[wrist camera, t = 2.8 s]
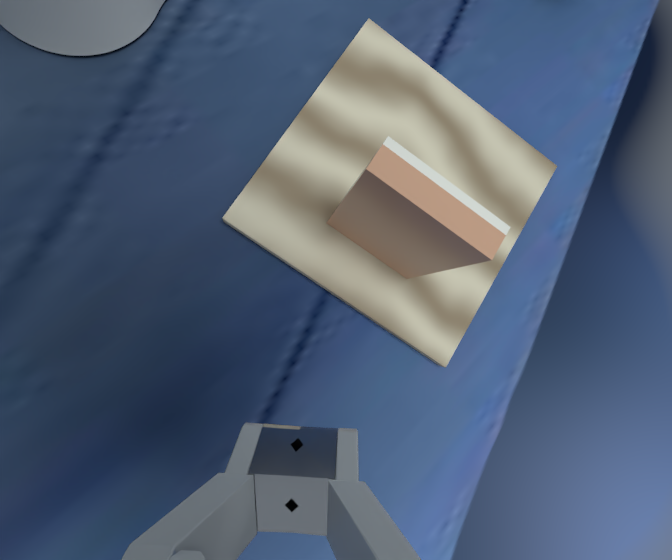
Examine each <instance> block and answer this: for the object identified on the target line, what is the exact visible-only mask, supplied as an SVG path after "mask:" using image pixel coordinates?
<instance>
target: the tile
mask: <svg viewBox="0 0 672 560" xmlns="http://www.w3.org/2000/svg"><path fill="white" fill-rule="evenodd" d="M327 224H328V225H330V226H331V227H333V228H334V229H336V230H337V231H338V232H340V233H341V234H343V235H344V236H346V237H347V238H349V239H350V240H351V241H353V242H354V243H356V244H357V245H359V246H360V247H362V248H363V249H364V250H366V251H367V252H369V253H370V254H372V255H373V256H375V257H376V258H377V259H379V260H380V261H382V262H383V263H385V264H386V265H387V266H389V267H390V268H392V269H393V270H395V271H396V272H398V273H399V274H400V275H402V276H403V277H405V278H406V279H409V278H413V277H418V276H423V275H427V274H432V273H436V272H441V271H445V270H450V269H454V268H459V267H464V266H468V265H473V264H477V263H482V262H486V261H491V260H492V259H493V258H494V256H495V254H496V252H497V251H498V249H499V247H500V245H501V243H502V242H503V240H504V238H505V236H506V235H507V233H508V231H509V229H510V226H508V225H507V224H506V223H504V222H503V221H502V220H500V219H499V218H498V217H496V216H495V215H494V214H492V213H491V212H490V211H488V210H487V209H486V208H484V207H483V206H482V205H480V204H479V203H478V202H476V201H475V200H474V199H472V198H471V197H470V196H468V195H467V194H466V193H464V192H463V191H461V190H460V189H459V188H457V187H456V186H455V185H453V184H452V183H451V182H449V181H448V180H447V179H445V178H444V177H443V176H441V175H440V174H439V173H437V172H436V171H435V170H433V169H432V168H431V167H429V166H428V165H427V164H425V163H424V162H423V161H421V160H420V159H418V158H417V157H416V156H414V155H413V154H412V153H410V152H409V151H408V150H406V149H405V148H404V147H402V146H401V145H400V144H398V143H397V142H396V141H394V140H393V139H392V138H390V137H389V136H388V137H387V138H386V139H385V141H384V142H383V144H382V145H381V146H380V148H379V149H378V151H377V152H376V153H375V155H374V156H373V157H372V159H371V160H370V162H369V163H368V164H367V166H366V167H365V169H364V170H363V171H362V173H361V174H360V175H359V177H358V178H357V180H356V181H355V182H354V184H353V185H352V186H351V188H350V189H349V191H348V192H347V193H346V195H345V196H344V198H343V199H342V200H341V202H340V203H339V205H338V206H337V208H336V209H335V211H334V212H333V214H332V215H331V217H330V218H329V220H328V221H327Z"/></svg>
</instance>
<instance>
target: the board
mask: <svg viewBox="0 0 672 560" xmlns="http://www.w3.org/2000/svg"><path fill="white" fill-rule="evenodd" d="M388 136H389V137H390V138H392V139H393V140H394V141H396V142H397V143H398V144H400V145H401V146H402V147H404V148H405V149H406V150H408V151H409V152H410V153H412V154H413V155H414V156H416V157H417V158H418V159H420V160H421V161H423V162H424V163H425V164H427V165H428V166H429V167H431V168H432V169H433V170H435V171H436V172H437V173H439V174H440V175H441V176H443V177H444V178H445V179H447V180H448V181H449V182H451V183H452V184H453V185H455V186H456V187H457V188H459V189H460V190H461V191H463V192H464V193H466V194H467V195H468V196H470V197H471V198H472V199H474V200H475V201H476V202H478V203H479V204H480V205H482V206H483V207H484V208H486V209H487V210H488V211H490V212H491V213H492V214H494V215H495V216H496V217H498V218H499V219H500V220H502V221H503V222H504V223H506V224H507V225H508V226H510V229H509V231H508V233H507V235H506V236H505V238H504V240H503V242H502V243H501V245H500V247H499V249H498V251H497V252H496V254H495V256H494V258H493V259H492V260H491V261H486V262H482V263H477V264H473V265H468V266H464V267H459V268H454V269H450V270H445V271H441V272H436V273H432V274H427V275H423V276H418V277H413V278H409V279H406V278H405V277H403V276H402V275H400V274H399V273H398V272H396V271H395V270H393V269H392V268H390V267H389V266H387V265H386V264H385V263H383V262H382V261H380V260H379V259H377V258H376V257H375V256H373V255H372V254H370V253H369V252H367V251H366V250H364V249H363V248H362V247H360V246H359V245H357V244H356V243H354V242H353V241H351V240H350V239H349V238H347V237H346V236H344V235H343V234H341V233H340V232H338V231H337V230H336V229H334V228H333V227H331V226H330V225H328V224H327V221H328V220H329V218H330V217H331V215H332V214H333V212H334V211H335V209H336V208H337V206H338V205H339V203H340V202H341V200H342V199H343V198H344V196H345V195H346V193H347V192H348V191H349V189H350V188H351V186H352V185H353V184H354V182H355V181H356V180H357V178H358V177H359V175H360V174H361V173H362V171H363V170H364V169H365V167H366V166H367V164H368V163H369V162H370V160H371V159H372V157H373V156H374V155H375V153H376V152H377V151H378V149H379V148H380V146H381V145H382V144H383V142H384V141H385V139H386V138H387V137H388ZM556 167H557V166H556V165H555V164H554V163H552V162H551V161H550V160H549V159H547V158H546V157H545V156H544V155H542V154H541V153H540V152H538V151H537V150H536V149H535V148H533V147H532V146H531V145H530V144H528V143H527V142H526V141H524V140H523V139H522V138H521V137H519V136H518V135H517V134H516V133H514V132H513V131H512V130H510V129H509V128H508V127H507V126H505V125H504V124H503V123H502V122H500V121H499V120H498V119H496V118H495V117H494V116H493V115H491V114H490V113H489V112H487V111H486V110H485V109H484V108H482V107H481V106H480V105H479V104H477V103H476V102H475V101H473V100H472V99H471V98H470V97H468V96H467V95H466V94H465V93H463V92H462V91H461V90H459V89H458V88H457V87H456V86H454V85H453V84H452V83H451V82H449V81H448V80H447V79H445V78H444V77H443V76H442V75H440V74H439V73H438V72H437V71H435V70H434V69H433V68H431V67H430V66H429V65H428V64H426V63H425V62H424V61H423V60H421V59H420V58H419V57H417V56H416V55H415V54H414V53H412V52H411V51H410V50H408V49H407V48H406V47H405V46H403V45H402V44H401V43H400V42H398V41H397V40H396V39H394V38H393V37H392V36H391V35H389V34H388V33H387V32H386V31H384V30H383V29H382V28H380V27H379V26H378V25H377V24H375V23H374V22H373V21H372V20H370V19H368V20H367V21H366V23H365V24H364V26H363V27H362V28H361V30H360V31H359V32H358V34H357V35H356V36H355V38H354V39H353V41H352V42H351V43H350V45H349V46H348V47H347V49H346V50H345V51H344V53H343V54H342V56H341V57H340V58H339V60H338V61H337V62H336V64H335V65H334V66H333V68H332V69H331V71H330V72H329V73H328V75H327V76H326V77H325V79H324V80H323V81H322V83H321V84H320V86H319V87H318V88H317V90H316V91H315V92H314V94H313V95H312V96H311V98H310V99H309V101H308V102H307V103H306V105H305V106H304V107H303V109H302V110H301V111H300V113H299V114H298V116H297V117H296V118H295V120H294V121H293V122H292V124H291V125H290V126H289V128H288V129H287V131H286V132H285V133H284V135H283V136H282V137H281V139H280V140H279V141H278V143H277V144H276V146H275V147H274V148H273V150H272V151H271V152H270V154H269V155H268V156H267V158H266V159H265V161H264V162H263V163H262V165H261V166H260V167H259V169H258V170H257V171H256V173H255V174H254V176H253V177H252V178H251V180H250V181H249V182H248V184H247V185H246V186H245V188H244V189H243V191H242V192H241V193H240V195H239V196H238V197H237V199H236V200H235V201H234V203H233V204H232V206H231V207H230V208H229V210H228V211H227V212H226V214H225V215H224V216H223V218H222V219H223V221H224V222H225V223H226V224H228V225H229V226H231V227H232V228H234V229H235V230H237V231H238V232H240V233H241V234H243V235H244V236H246V237H247V238H249V239H250V240H252V241H253V242H255V243H256V244H258V245H259V246H261V247H262V248H264V249H265V250H267V251H268V252H270V253H271V254H273V255H274V256H276V257H277V258H279V259H280V260H282V261H283V262H285V263H286V264H288V265H289V266H291V267H292V268H294V269H295V270H297V271H298V272H300V273H301V274H303V275H304V276H306V277H307V278H309V279H310V280H312V281H313V282H315V283H316V284H318V285H319V286H321V287H322V288H324V289H325V290H327V291H328V292H330V293H331V294H333V295H334V296H336V297H337V298H339V299H340V300H342V301H343V302H345V303H346V304H348V305H349V306H351V307H352V308H354V309H355V310H357V311H358V312H360V313H361V314H363V315H364V316H366V317H367V318H369V319H370V320H372V321H373V322H375V323H376V324H378V325H379V326H381V327H382V328H384V329H385V330H387V331H388V332H390V333H391V334H393V335H394V336H396V337H397V338H399V339H400V340H402V341H403V342H405V343H406V344H408V345H409V346H411V347H412V348H414V349H415V350H417V351H418V352H420V353H421V354H423V355H424V356H426V357H427V358H429V359H430V360H432V361H433V362H435V363H436V364H438V365H439V366H442V367H445V368H446V366H447V364H448V362H449V361H450V359H451V357H452V355H453V353H454V352H455V350H456V348H457V346H458V344H459V343H460V341H461V339H462V337H463V335H464V334H465V332H466V330H467V328H468V326H469V325H470V323H471V321H472V319H473V317H474V315H475V314H476V312H477V310H478V308H479V306H480V305H481V303H482V301H483V299H484V297H485V296H486V294H487V292H488V290H489V288H490V287H491V285H492V283H493V281H494V279H495V278H496V276H497V274H498V272H499V270H500V269H501V267H502V265H503V263H504V261H505V260H506V258H507V256H508V254H509V252H510V251H511V249H512V247H513V245H514V243H515V241H516V240H517V238H518V236H519V234H520V232H521V231H522V229H523V227H524V225H525V223H526V222H527V220H528V218H529V216H530V214H531V213H532V211H533V209H534V207H535V205H536V204H537V202H538V200H539V198H540V196H541V195H542V193H543V191H544V189H545V187H546V186H547V184H548V182H549V180H550V178H551V176H552V175H553V173H554V171H555V169H556Z"/></svg>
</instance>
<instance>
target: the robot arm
mask: <svg viewBox="0 0 672 560" xmlns="http://www.w3.org/2000/svg"><path fill="white" fill-rule="evenodd" d="M164 1H165V0H0V25H2V26H3V27H4V28H5V29H6V30H7V31H9V32H10V33H11V34H13V35H14V36H16V37H17V38H19V39H21V40H22V41H24V42H26V43H28V44H30V45H32V46H35V47H37V48H40V49H43V50H46V51H49V52H53V53H58V54H63V55H72V56H88V55H97V54H102V53H107V52H110V51H113V50H116V49H119V48H121V47H123V46H125V45H127V44H129V43H131V42H132V41H134V40H135V39H136V38H138V37H139V36H140V35H141V34H142V33H143V32H145V30H146V29H147V28H148V27H149V26H150V25H151V23H152V22H153V20H154V19H155V17H156V15H157V13H158V11H159V10H160V8H161V6H162V4H163V3H164ZM337 434H338V437H337ZM257 531H263V532H292V533H302V534H312V535H323V536H327V540H328V542H329V544H330V546H331V548H332V551H333V553H334V555H335V557H336V559H337V560H421V559H420V557H419V556H418V554H417V553H416V552H415V550H414V549H413V548H412V546H411V545H410V544H409V542H408V541H407V539H406V538H405V537H404V535H403V534H402V533H401V531H400V530H399V528H398V527H397V526H396V524H395V523H394V522H393V520H392V519H391V517H390V516H389V515H388V513H387V512H386V511H385V509H384V508H383V506H382V505H381V504H380V502H379V501H378V500H377V498H376V497H375V495H374V494H373V493H372V491H371V490H370V489H369V487H368V486H367V485H366V483H365V482H361V481H359V475H358V431H357V429H348V428H321V427H299V426H287V425H275V424H257V423H245V424H244V425H243V426H242V429H241V431H240V434H239V436H238V439H237V441H236V444H235V447H234V449H233V452H232V454H231V457H230V460H229V462H228V465H227V467H226V470H225V472H224V473H218V474H216V475H215V476H214V477H213V478H211V479H210V480H209V481H208V482H206V483H205V484H204V485H203V486H201V487H200V488H199V489H198V490H196V491H195V492H194V493H193V494H191V495H190V496H189V497H188V498H187V499H185V500H184V501H183V502H182V503H180V504H179V505H178V506H177V507H175V508H174V509H173V510H172V511H170V512H169V513H168V514H167V515H165V516H164V517H163V518H162V519H160V520H159V521H158V522H157V523H156V524H154V525H153V526H152V527H151V528H149V529H148V530H147V531H146V532H144V533H143V534H142V535H141V536H139V537H138V538H137V539H136V540H134V541H133V542H132V543H131V544H130V545H129V547H128V548H127V550H126V552H125V554H124V556H123V557H122V559H121V560H236V559H237V558H238V557H239V555H240V554H241V553H242V552H243V550H244V549H245V548H246V547H247V546H248V544H249V543H250V542H251V541H252V539H253V538H254V537H255V536H256V534H257Z"/></svg>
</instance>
